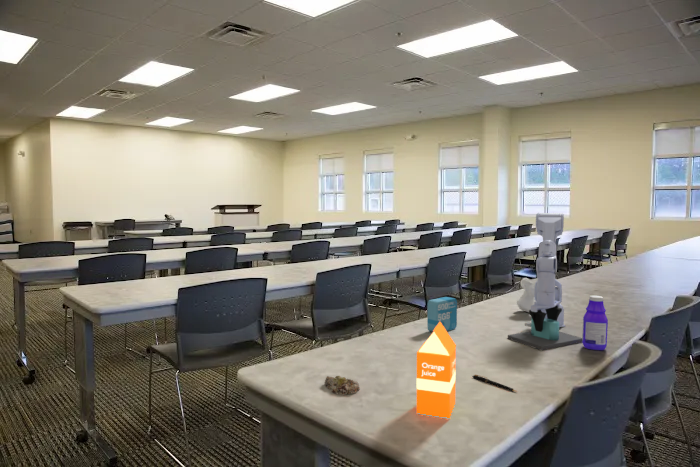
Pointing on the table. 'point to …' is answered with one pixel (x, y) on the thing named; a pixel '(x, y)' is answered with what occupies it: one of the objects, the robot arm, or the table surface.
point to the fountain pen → (492, 382)
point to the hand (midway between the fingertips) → (545, 329)
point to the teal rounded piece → (546, 329)
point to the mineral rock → (341, 385)
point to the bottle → (595, 324)
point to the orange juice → (436, 374)
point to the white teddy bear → (527, 294)
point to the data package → (442, 313)
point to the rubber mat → (544, 340)
